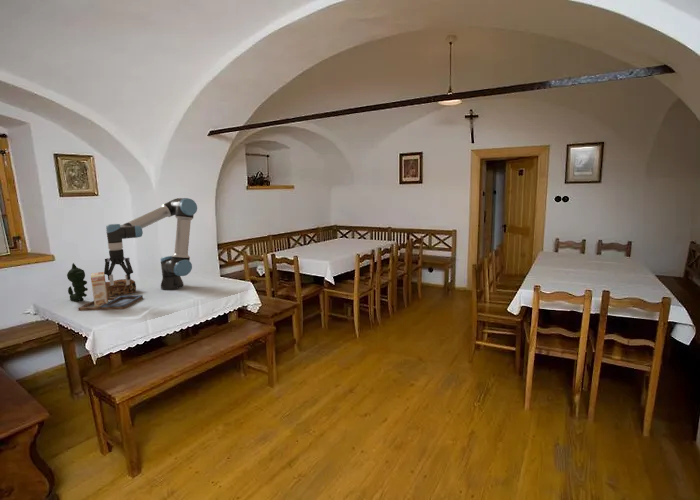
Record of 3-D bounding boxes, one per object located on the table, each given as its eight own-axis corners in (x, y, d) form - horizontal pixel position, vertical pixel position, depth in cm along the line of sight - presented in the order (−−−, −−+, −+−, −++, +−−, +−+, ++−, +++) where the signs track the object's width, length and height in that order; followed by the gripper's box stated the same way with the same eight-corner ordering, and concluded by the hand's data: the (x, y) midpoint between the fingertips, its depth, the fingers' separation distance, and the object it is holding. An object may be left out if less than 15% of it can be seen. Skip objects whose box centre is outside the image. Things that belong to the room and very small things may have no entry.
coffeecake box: (108, 306, 234) (104, 275, 231) (94, 308, 230) (90, 277, 227) (108, 300, 246) (104, 271, 243) (95, 302, 243) (91, 273, 240)
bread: (106, 298, 252) (104, 283, 251) (102, 295, 260) (100, 281, 258) (137, 292, 266) (135, 278, 264) (132, 290, 273) (130, 276, 271)
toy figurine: (76, 304, 240) (71, 265, 236) (62, 300, 249) (56, 263, 245) (92, 300, 248) (87, 262, 244) (78, 296, 257) (73, 260, 253)
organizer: (143, 298, 250) (142, 295, 250) (124, 308, 228) (124, 305, 228) (100, 299, 249) (100, 296, 249) (78, 310, 227) (77, 307, 227)
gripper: (137, 248, 237) (141, 283, 241) (101, 248, 237) (105, 284, 240) (130, 249, 230) (134, 286, 233) (94, 250, 229) (98, 287, 233)
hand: (120, 285), depth 237 cm, fingers open, 9 cm apart
